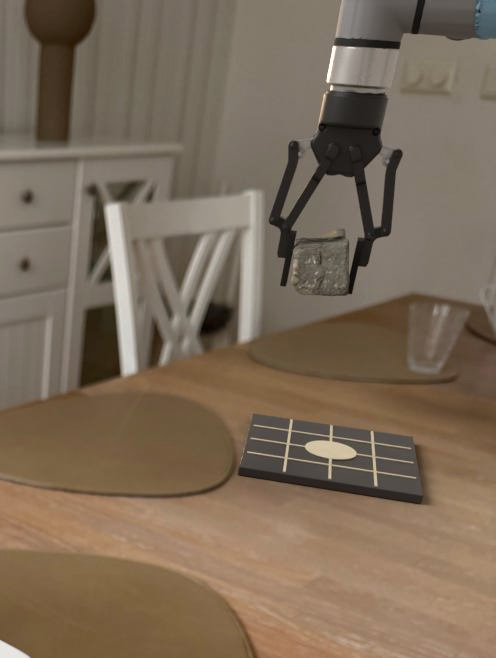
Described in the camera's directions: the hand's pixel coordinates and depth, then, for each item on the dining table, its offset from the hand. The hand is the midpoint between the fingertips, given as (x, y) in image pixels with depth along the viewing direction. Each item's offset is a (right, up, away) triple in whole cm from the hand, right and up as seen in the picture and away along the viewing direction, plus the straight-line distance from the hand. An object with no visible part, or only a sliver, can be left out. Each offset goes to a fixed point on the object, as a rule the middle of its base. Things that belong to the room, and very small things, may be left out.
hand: (316, 287), depth 129 cm
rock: (0, 0, 0) cm, 1 cm away
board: (-2, -25, -12) cm, 27 cm away
